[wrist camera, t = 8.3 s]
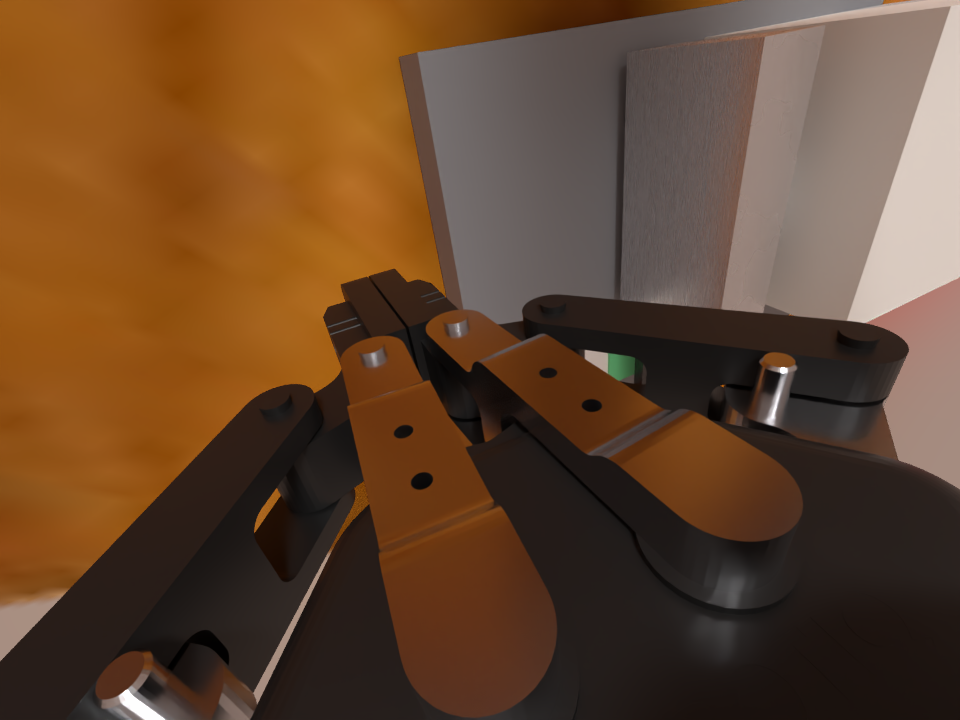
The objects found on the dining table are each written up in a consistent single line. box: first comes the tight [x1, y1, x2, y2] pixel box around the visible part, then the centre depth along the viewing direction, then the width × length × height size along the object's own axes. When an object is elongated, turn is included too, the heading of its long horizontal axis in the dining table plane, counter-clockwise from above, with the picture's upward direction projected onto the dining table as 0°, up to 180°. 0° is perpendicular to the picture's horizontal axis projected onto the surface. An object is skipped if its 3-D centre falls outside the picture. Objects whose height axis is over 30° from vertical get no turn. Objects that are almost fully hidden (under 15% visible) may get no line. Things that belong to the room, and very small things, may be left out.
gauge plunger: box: [620, 25, 825, 385], centre depth 21 cm, size 16×11×6 cm
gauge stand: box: [399, 0, 960, 384], centre depth 20 cm, size 17×23×10 cm
